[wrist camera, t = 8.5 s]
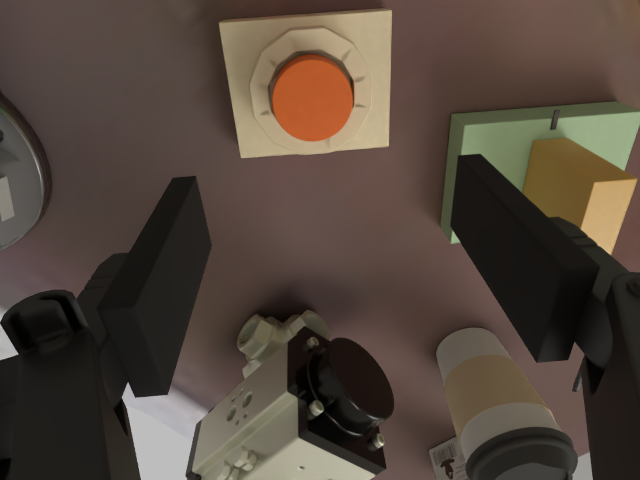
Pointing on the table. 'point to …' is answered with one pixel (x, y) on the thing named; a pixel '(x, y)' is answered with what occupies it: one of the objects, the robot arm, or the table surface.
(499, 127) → the plate
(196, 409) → the table surface
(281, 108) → the bell button
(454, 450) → the coffee box
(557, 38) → the table surface
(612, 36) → the table surface
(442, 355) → the coffee cup
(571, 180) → the yellow rectangular block
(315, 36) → the beige button mount
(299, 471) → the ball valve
